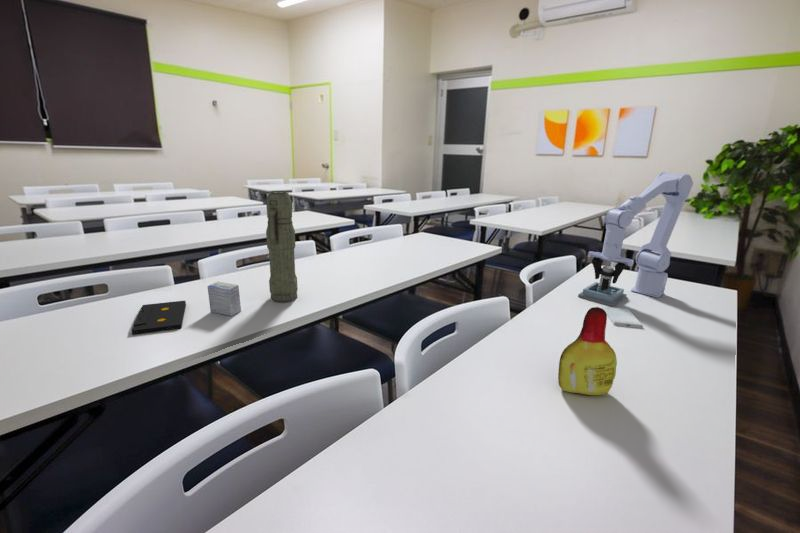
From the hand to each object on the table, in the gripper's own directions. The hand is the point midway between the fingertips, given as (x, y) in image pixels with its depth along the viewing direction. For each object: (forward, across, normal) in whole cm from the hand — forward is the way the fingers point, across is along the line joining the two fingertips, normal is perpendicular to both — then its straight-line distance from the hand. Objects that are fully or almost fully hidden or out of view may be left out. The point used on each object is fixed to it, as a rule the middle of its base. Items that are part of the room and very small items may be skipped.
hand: (605, 280), depth 143 cm
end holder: (+6, 0, 0) cm, 6 cm away
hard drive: (+7, +11, -15) cm, 20 cm away
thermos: (+7, -72, -87) cm, 113 cm away
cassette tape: (+8, -80, -122) cm, 146 cm away
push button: (+5, 0, +1) cm, 6 cm away
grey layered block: (+7, -73, -106) cm, 129 cm away
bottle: (+7, +18, -65) cm, 68 cm away
